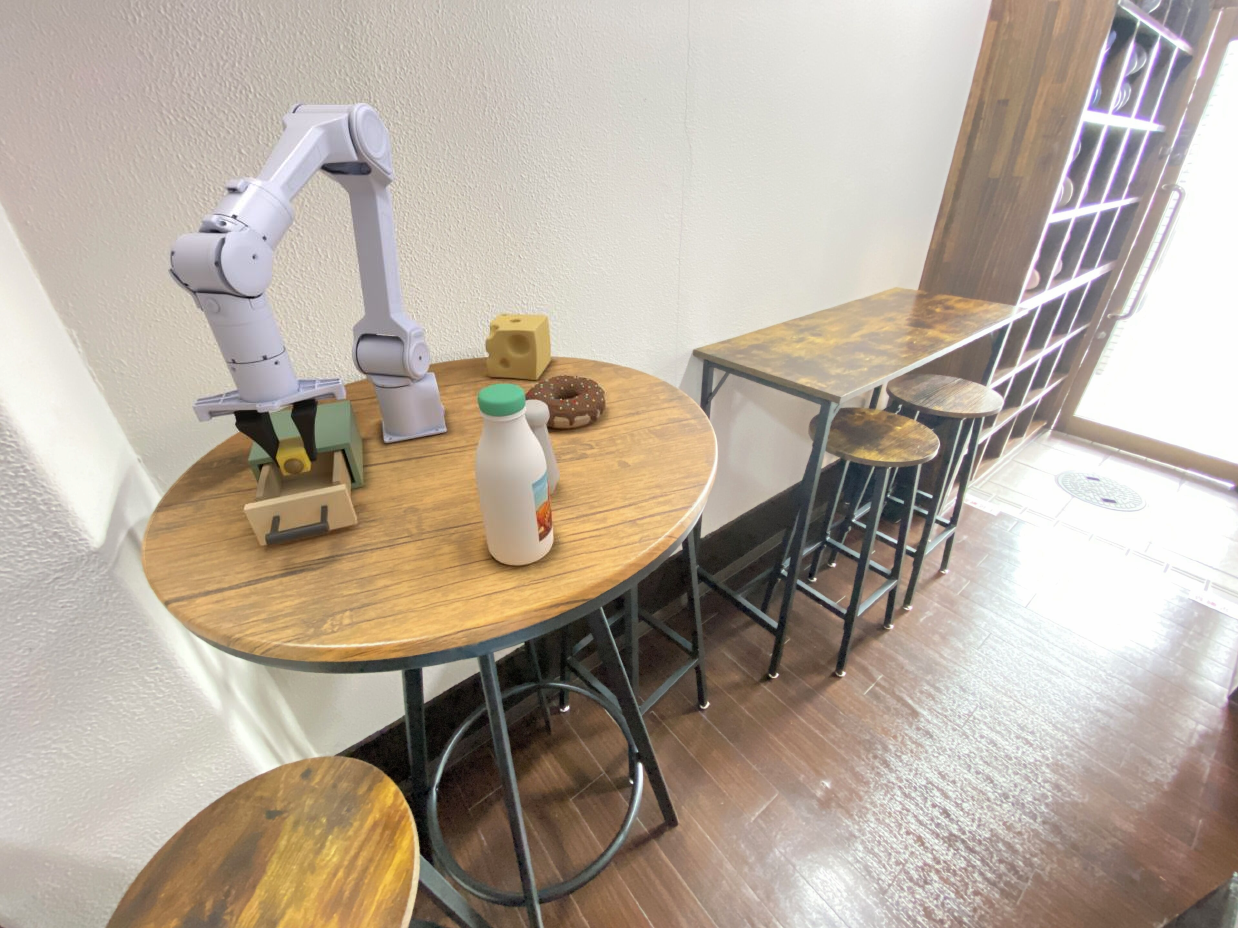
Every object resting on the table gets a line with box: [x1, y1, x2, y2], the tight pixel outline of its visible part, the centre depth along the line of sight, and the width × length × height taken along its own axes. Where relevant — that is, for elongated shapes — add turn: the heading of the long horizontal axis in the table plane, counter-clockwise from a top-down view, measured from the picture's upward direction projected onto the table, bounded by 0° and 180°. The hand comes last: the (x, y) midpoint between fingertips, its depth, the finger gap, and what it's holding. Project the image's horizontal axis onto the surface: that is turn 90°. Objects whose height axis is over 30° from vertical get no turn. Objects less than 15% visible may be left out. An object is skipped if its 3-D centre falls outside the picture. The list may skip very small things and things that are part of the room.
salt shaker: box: [524, 400, 561, 496], centre depth 69 cm, size 6×6×13 cm
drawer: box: [243, 449, 358, 547], centre depth 65 cm, size 17×10×5 cm, turn 23°
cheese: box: [484, 312, 552, 381], centre depth 105 cm, size 10×11×10 cm
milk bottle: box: [474, 382, 554, 566], centre depth 58 cm, size 8×8×20 cm
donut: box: [525, 374, 607, 430], centre depth 90 cm, size 14×14×5 cm
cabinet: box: [247, 399, 364, 490], centre depth 75 cm, size 14×12×7 cm
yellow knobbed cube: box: [276, 436, 311, 476], centre depth 63 cm, size 3×6×3 cm, turn 23°
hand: (298, 460), depth 64 cm, fingers closed on yellow knobbed cube, 3 cm apart
